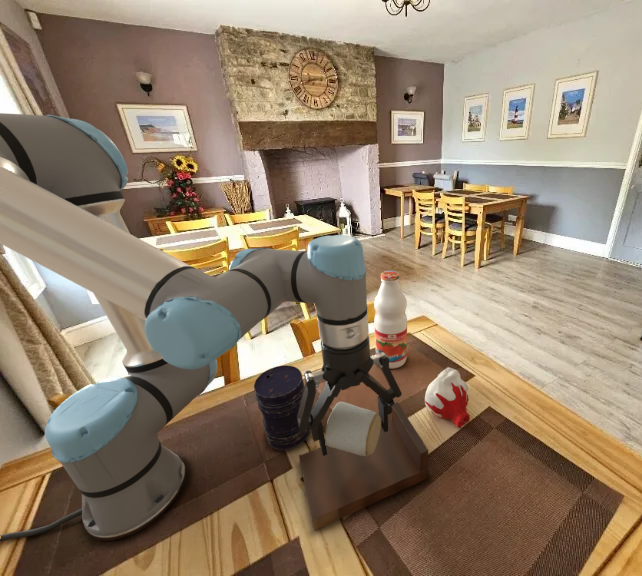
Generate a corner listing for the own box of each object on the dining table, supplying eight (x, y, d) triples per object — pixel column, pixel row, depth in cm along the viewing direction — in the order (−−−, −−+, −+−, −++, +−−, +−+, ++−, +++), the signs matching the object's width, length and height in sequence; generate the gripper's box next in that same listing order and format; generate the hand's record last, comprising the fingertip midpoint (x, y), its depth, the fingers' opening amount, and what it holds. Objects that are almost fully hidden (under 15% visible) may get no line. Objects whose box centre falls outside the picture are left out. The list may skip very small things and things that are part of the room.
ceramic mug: (370, 468, 52) (368, 435, 48) (326, 456, 54) (321, 423, 51) (388, 419, 61) (387, 389, 58) (349, 411, 63) (347, 381, 60)
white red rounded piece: (449, 382, 83) (484, 429, 72) (411, 394, 80) (442, 446, 68) (454, 357, 79) (492, 403, 67) (414, 368, 75) (447, 420, 63)
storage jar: (320, 422, 73) (312, 372, 67) (292, 457, 65) (280, 403, 59) (286, 409, 77) (276, 360, 71) (257, 440, 69) (242, 389, 63)
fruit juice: (406, 350, 98) (407, 267, 86) (407, 369, 89) (408, 280, 78) (376, 349, 98) (373, 267, 87) (374, 369, 90) (370, 280, 78)
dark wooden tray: (314, 530, 52) (307, 501, 49) (300, 465, 63) (295, 437, 60) (427, 478, 60) (428, 450, 57) (398, 428, 71) (397, 401, 68)
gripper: (267, 373, 41) (292, 481, 50) (423, 330, 49) (420, 430, 58) (263, 343, 47) (286, 444, 56) (402, 310, 55) (402, 403, 64)
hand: (354, 437), depth 57 cm, fingers closed on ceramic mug, 11 cm apart
